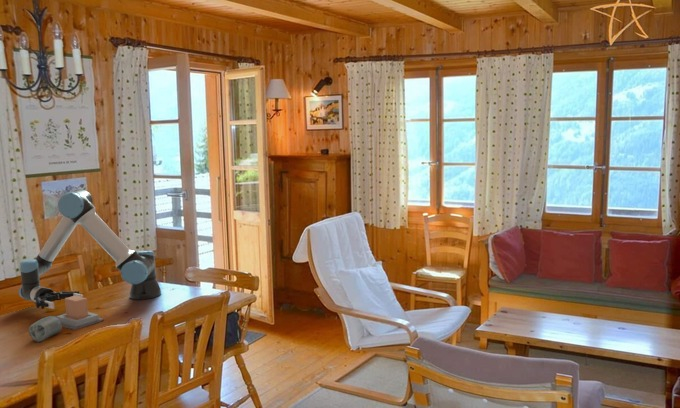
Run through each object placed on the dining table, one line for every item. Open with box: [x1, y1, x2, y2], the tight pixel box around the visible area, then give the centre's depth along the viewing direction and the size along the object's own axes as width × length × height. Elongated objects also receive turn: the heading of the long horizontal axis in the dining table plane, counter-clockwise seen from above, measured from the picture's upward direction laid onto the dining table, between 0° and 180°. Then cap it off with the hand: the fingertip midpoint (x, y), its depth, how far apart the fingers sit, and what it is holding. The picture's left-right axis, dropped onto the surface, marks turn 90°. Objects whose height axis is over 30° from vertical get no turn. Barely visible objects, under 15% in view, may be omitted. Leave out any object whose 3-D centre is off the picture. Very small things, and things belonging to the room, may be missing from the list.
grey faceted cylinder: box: [28, 315, 63, 343], centre depth 241 cm, size 14×10×10 cm
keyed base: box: [55, 311, 104, 331], centre depth 260 cm, size 14×17×3 cm
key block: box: [64, 296, 89, 320], centre depth 260 cm, size 5×9×10 cm, turn 55°
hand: (68, 301), depth 263 cm, fingers open, 13 cm apart
